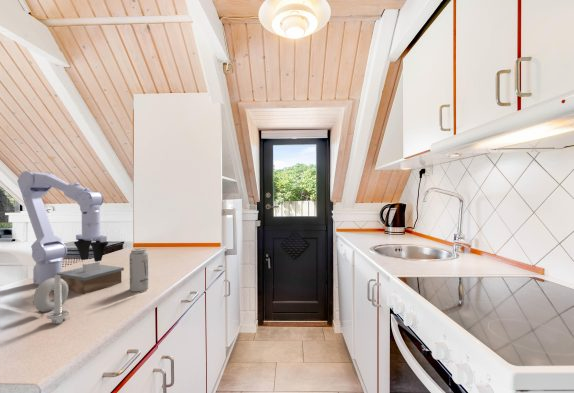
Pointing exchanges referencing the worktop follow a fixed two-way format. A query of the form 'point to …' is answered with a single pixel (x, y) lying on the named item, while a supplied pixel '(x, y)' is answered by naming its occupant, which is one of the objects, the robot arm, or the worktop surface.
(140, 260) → the energy drink can
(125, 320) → the worktop surface
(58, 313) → the screw
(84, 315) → the worktop surface
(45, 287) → the donut
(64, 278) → the storage box
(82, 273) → the lid
